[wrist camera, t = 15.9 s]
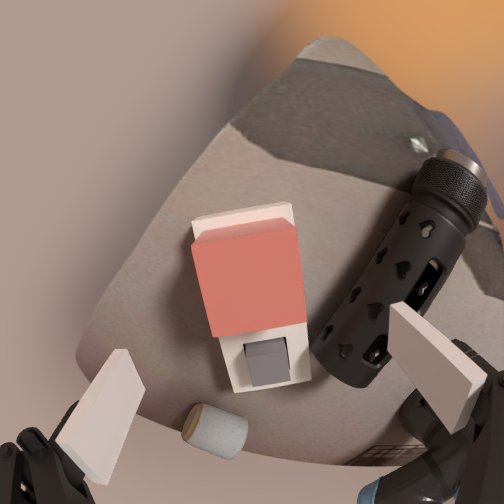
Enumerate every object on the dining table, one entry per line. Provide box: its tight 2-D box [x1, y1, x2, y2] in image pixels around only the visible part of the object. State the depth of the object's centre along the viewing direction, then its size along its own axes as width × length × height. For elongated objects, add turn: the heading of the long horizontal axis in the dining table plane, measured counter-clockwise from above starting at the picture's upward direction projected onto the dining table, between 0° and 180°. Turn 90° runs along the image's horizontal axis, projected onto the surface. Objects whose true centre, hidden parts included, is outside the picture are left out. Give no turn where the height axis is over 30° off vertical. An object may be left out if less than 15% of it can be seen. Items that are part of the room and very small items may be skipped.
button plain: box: [246, 337, 291, 387], centre depth 31 cm, size 4×4×4 cm
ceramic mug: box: [181, 403, 248, 460], centre depth 35 cm, size 11×8×8 cm
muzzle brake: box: [311, 149, 488, 388], centre depth 28 cm, size 10×28×10 cm, turn 148°
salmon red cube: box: [191, 217, 307, 338], centre depth 25 cm, size 8×8×7 cm
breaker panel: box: [192, 202, 311, 393], centre depth 32 cm, size 22×10×4 cm, turn 10°
